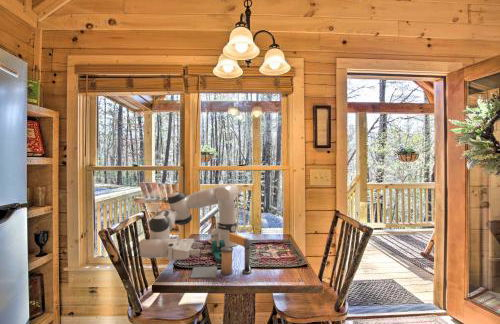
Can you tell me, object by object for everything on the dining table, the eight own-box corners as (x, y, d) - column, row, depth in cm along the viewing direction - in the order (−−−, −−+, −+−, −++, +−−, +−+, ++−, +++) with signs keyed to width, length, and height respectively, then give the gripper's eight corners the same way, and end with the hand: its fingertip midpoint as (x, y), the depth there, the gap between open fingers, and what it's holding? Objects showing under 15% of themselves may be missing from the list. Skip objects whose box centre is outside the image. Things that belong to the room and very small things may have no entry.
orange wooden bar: (251, 247, 140) (251, 239, 139) (246, 248, 137) (246, 240, 137) (232, 239, 151) (232, 232, 151) (227, 241, 149) (228, 233, 149)
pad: (190, 278, 132) (190, 277, 132) (193, 268, 144) (193, 267, 144) (215, 278, 133) (215, 276, 133) (217, 267, 145) (217, 266, 145)
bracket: (211, 252, 169) (211, 239, 169) (222, 251, 171) (222, 238, 171) (216, 263, 152) (216, 248, 152) (228, 262, 154) (228, 247, 153)
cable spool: (218, 272, 139) (218, 248, 139) (227, 269, 144) (227, 245, 143) (225, 276, 135) (225, 251, 135) (235, 272, 139) (235, 248, 139)
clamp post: (240, 272, 140) (240, 247, 140) (247, 269, 143) (247, 245, 143) (246, 274, 137) (246, 249, 137) (253, 272, 140) (253, 247, 140)
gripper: (176, 247, 147) (203, 247, 148) (167, 262, 127) (198, 261, 128) (176, 235, 147) (203, 235, 148) (167, 248, 127) (198, 247, 128)
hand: (201, 247), depth 138 cm, fingers open, 8 cm apart
